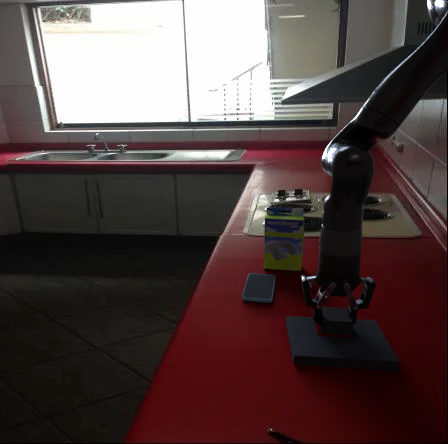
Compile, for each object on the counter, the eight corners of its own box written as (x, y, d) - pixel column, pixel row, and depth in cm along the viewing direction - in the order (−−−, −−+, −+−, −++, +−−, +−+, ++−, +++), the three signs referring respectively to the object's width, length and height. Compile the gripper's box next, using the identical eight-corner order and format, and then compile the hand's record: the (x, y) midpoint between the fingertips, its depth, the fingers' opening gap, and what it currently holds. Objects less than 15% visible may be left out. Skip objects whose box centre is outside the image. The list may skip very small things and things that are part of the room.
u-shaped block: (374, 328, 88) (375, 319, 87) (398, 371, 75) (399, 361, 74) (285, 324, 91) (286, 316, 91) (293, 364, 78) (294, 355, 78)
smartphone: (275, 275, 112) (272, 300, 99) (275, 278, 113) (271, 304, 99) (248, 272, 115) (241, 297, 101) (248, 276, 115) (241, 301, 101)
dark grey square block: (344, 320, 88) (345, 307, 87) (351, 335, 83) (352, 321, 82) (317, 319, 89) (318, 306, 88) (322, 333, 84) (322, 320, 83)
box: (263, 269, 119) (264, 211, 113) (264, 263, 122) (265, 206, 117) (302, 272, 115) (305, 212, 110) (302, 266, 119) (305, 207, 114)
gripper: (303, 254, 78) (299, 332, 83) (386, 255, 75) (377, 336, 81) (298, 240, 85) (295, 313, 90) (374, 240, 82) (366, 316, 88)
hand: (334, 323), depth 85 cm, fingers closed on dark grey square block, 5 cm apart
